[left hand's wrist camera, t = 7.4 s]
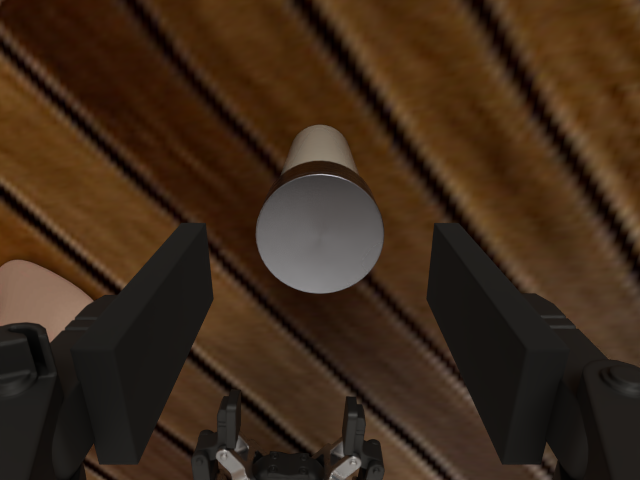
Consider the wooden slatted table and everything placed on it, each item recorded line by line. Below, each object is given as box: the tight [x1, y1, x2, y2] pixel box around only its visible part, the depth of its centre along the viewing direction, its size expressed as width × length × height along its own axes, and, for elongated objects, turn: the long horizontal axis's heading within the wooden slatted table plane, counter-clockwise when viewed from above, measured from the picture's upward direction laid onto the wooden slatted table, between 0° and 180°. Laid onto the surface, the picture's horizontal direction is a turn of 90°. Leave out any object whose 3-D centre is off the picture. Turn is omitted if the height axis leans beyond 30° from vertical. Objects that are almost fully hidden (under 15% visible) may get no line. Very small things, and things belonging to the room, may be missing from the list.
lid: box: [256, 161, 384, 293], centre depth 17 cm, size 5×5×2 cm
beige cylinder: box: [281, 125, 359, 175], centre depth 24 cm, size 4×4×16 cm
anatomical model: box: [0, 260, 93, 342], centre depth 34 cm, size 13×4×12 cm
